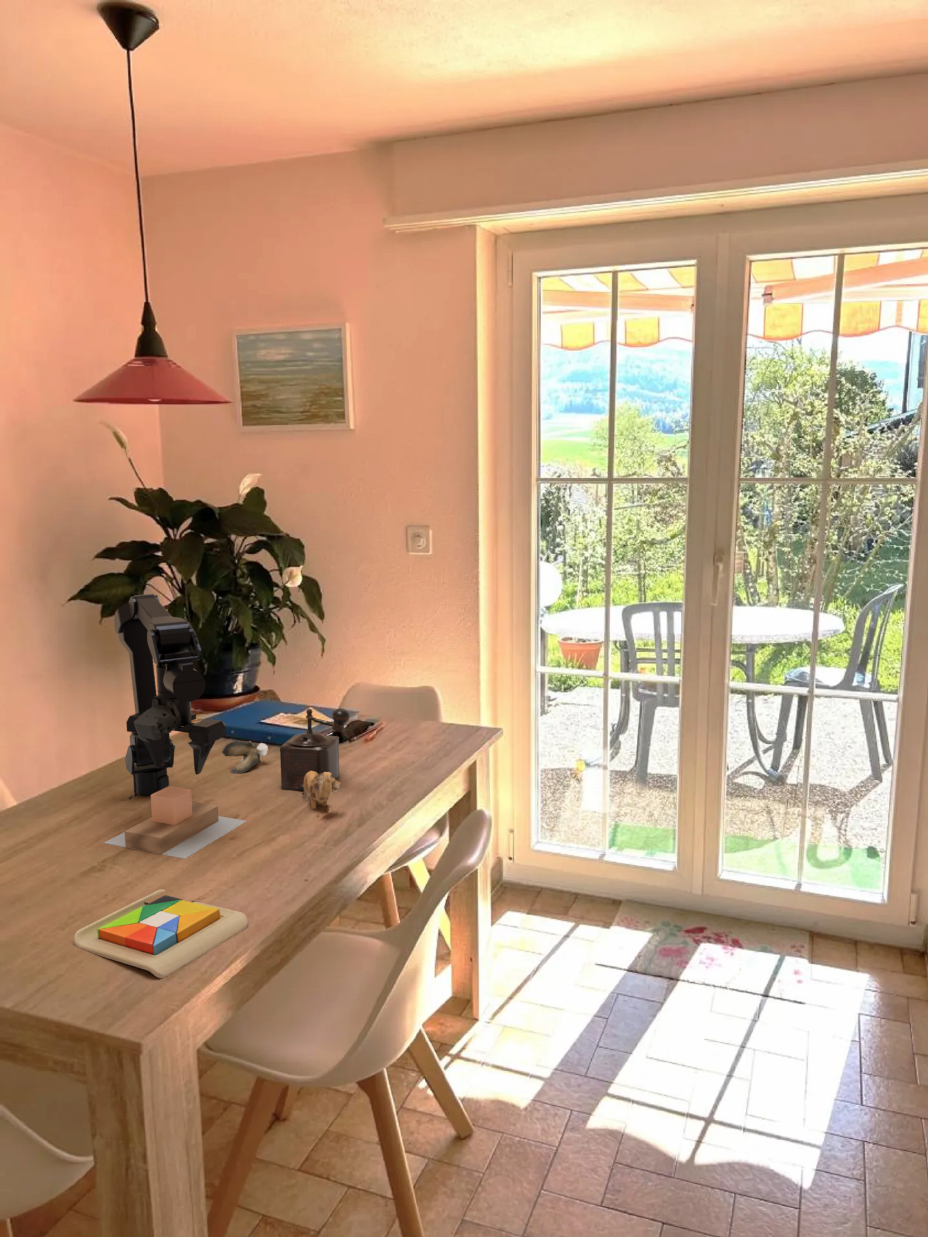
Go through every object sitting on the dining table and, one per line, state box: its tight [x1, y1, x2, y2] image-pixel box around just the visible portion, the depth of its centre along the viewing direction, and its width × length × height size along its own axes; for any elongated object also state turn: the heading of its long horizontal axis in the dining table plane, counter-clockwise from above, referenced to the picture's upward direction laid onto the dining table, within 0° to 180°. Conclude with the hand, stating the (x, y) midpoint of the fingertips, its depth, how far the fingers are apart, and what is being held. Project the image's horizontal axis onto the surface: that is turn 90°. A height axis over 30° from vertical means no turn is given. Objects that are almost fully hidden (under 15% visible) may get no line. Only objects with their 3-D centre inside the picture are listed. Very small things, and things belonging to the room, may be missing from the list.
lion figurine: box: [301, 771, 342, 813], centre depth 180 cm, size 15×5×9 cm, turn 33°
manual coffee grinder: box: [279, 707, 351, 792], centre depth 193 cm, size 16×11×18 cm
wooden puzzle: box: [73, 889, 249, 979], centre depth 132 cm, size 18×19×4 cm
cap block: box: [150, 785, 193, 825], centre depth 164 cm, size 5×5×5 cm
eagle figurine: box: [221, 740, 269, 775], centre depth 205 cm, size 8×7×9 cm
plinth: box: [123, 801, 219, 855], centre depth 165 cm, size 8×16×3 cm, turn 158°
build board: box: [103, 815, 247, 860], centre depth 166 cm, size 18×18×1 cm
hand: (178, 770), depth 166 cm, fingers open, 9 cm apart
